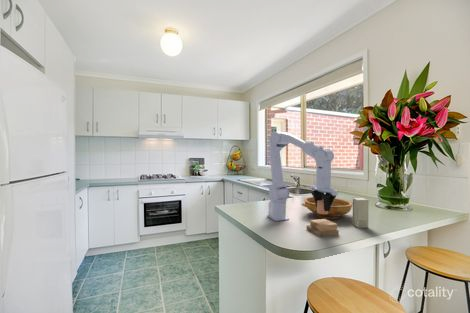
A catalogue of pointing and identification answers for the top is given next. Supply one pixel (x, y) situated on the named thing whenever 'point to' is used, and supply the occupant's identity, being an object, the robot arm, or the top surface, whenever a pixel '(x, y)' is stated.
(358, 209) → the box
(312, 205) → the wooden bowl
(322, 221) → the top block
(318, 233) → the bottom block
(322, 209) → the peach capsule
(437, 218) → the top surface
